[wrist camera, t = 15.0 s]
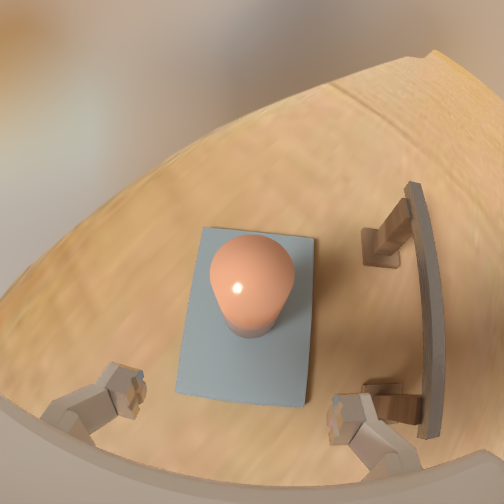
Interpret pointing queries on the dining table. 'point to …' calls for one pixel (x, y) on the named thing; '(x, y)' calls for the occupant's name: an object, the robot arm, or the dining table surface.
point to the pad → (243, 349)
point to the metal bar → (428, 315)
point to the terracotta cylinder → (251, 283)
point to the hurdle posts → (386, 255)
